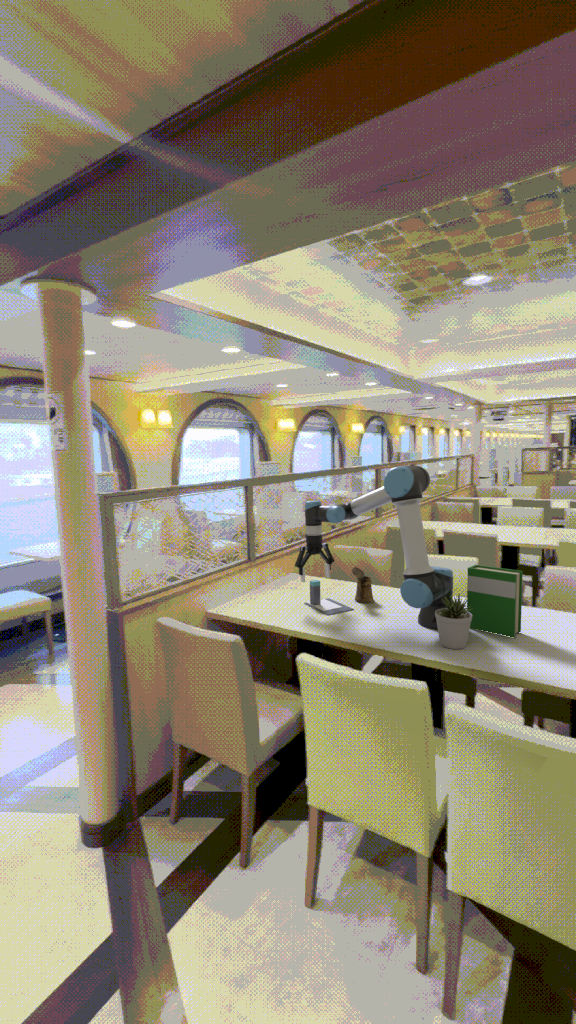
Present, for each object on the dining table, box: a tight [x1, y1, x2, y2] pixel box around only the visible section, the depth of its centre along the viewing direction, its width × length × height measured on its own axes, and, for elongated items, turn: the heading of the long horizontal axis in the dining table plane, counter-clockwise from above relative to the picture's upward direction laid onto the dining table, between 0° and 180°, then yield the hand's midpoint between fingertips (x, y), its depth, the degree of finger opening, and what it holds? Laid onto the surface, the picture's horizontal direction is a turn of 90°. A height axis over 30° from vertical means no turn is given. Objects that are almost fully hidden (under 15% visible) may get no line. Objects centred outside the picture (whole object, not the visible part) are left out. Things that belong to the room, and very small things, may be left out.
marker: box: [309, 579, 321, 605], centre depth 211 cm, size 4×4×11 cm
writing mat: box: [303, 597, 355, 616], centre depth 209 cm, size 20×14×1 cm
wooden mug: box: [351, 566, 374, 604], centre depth 215 cm, size 9×14×18 cm, turn 145°
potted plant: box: [435, 593, 473, 650], centre depth 161 cm, size 13×14×20 cm
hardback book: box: [466, 564, 523, 638], centre depth 174 cm, size 18×7×24 cm, turn 46°
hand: (315, 579), depth 210 cm, fingers open, 13 cm apart
